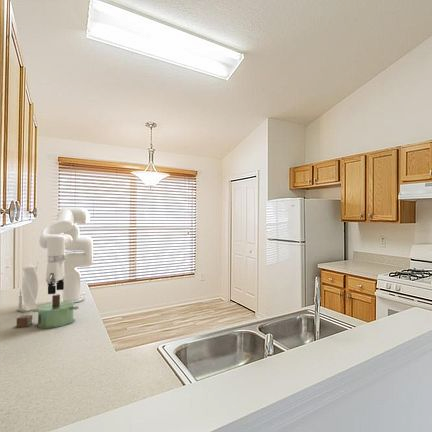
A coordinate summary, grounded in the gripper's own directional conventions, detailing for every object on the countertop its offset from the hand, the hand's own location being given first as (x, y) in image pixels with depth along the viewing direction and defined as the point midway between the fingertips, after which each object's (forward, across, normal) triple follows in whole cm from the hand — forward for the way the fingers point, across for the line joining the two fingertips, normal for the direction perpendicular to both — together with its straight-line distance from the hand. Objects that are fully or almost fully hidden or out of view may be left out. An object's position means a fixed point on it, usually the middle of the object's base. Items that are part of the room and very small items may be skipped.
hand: (56, 291), depth 165 cm
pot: (+16, 0, 0) cm, 16 cm away
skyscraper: (+16, -32, -26) cm, 44 cm away
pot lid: (+8, 0, 0) cm, 8 cm away
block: (+16, 0, -14) cm, 22 cm away
